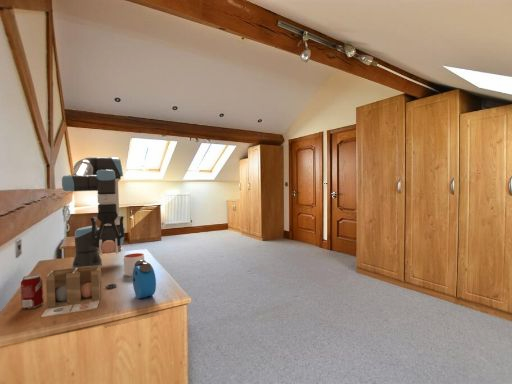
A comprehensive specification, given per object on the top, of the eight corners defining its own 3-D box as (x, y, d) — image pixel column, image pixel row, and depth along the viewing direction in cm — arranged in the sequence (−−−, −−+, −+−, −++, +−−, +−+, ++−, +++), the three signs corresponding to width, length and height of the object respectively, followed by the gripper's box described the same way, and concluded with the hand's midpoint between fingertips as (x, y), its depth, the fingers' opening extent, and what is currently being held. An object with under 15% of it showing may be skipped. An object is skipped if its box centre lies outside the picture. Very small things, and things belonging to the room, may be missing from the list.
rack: (53, 300, 119) (52, 270, 119) (101, 293, 126) (100, 264, 126) (47, 308, 111) (45, 276, 110) (99, 300, 118) (98, 270, 117)
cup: (131, 278, 146) (131, 258, 146) (120, 275, 151) (119, 256, 151) (148, 272, 154) (147, 254, 154) (136, 270, 160) (136, 252, 159)
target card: (46, 309, 110) (46, 308, 110) (99, 301, 117) (99, 300, 117) (40, 317, 104) (40, 315, 104) (96, 308, 110) (96, 306, 110)
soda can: (31, 310, 110) (30, 279, 109) (17, 309, 111) (15, 278, 111) (47, 303, 116) (46, 274, 116) (34, 302, 118) (32, 273, 117)
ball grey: (57, 299, 118) (56, 285, 118) (74, 297, 121) (73, 282, 121) (53, 305, 113) (52, 290, 113) (71, 302, 115) (70, 287, 115)
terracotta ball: (81, 295, 122) (80, 282, 122) (97, 293, 124) (96, 279, 124) (78, 301, 116) (78, 286, 116) (95, 298, 119) (94, 284, 118)
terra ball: (102, 252, 134) (102, 239, 134) (117, 251, 136) (116, 238, 136) (100, 255, 129) (100, 241, 128) (115, 253, 131) (114, 240, 130)
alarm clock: (156, 299, 118) (155, 263, 117) (141, 303, 114) (140, 266, 114) (146, 290, 128) (145, 257, 128) (132, 294, 124) (131, 259, 124)
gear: (106, 286, 134) (106, 284, 134) (116, 285, 136) (116, 283, 136) (105, 289, 130) (105, 287, 130) (115, 288, 132) (115, 286, 132)
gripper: (81, 205, 125) (83, 257, 126) (128, 203, 131) (130, 253, 132) (85, 204, 132) (87, 253, 133) (130, 202, 138) (131, 249, 139)
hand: (109, 253), depth 132 cm, fingers closed on terra ball, 6 cm apart
